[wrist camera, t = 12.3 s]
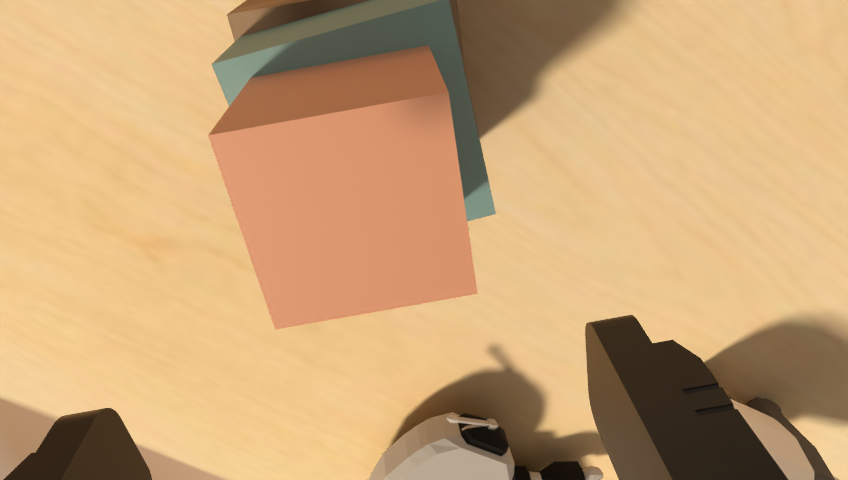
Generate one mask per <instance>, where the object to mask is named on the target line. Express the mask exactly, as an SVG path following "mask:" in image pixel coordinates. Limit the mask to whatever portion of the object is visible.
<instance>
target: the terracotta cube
mask: <svg viewBox="0 0 848 480" xmlns="http://www.w3.org/2000/svg"><path fill="white" fill-rule="evenodd" d="M208 136H209V139H210V142H211V145H212V148H213V150H214V153H215V156H216V159H217V162H218V165H219V168H220V171H221V174H222V176H223V179H224V182H225V185H226V188H227V191H228V194H229V197H230V200H231V203H232V205H233V208H234V211H235V214H236V217H237V220H238V223H239V226H240V229H241V231H242V234H243V237H244V240H245V243H246V246H247V249H248V252H249V255H250V258H251V260H252V263H253V266H254V269H255V272H256V275H257V278H258V281H259V284H260V286H261V289H262V292H263V295H264V298H265V301H266V304H267V307H268V310H269V313H270V315H271V318H272V321H273V324H274V327H275V329H281V328H286V327H292V326H298V325H303V324H309V323H314V322H320V321H326V320H331V319H337V318H343V317H348V316H354V315H360V314H365V313H371V312H376V311H382V310H388V309H393V308H399V307H405V306H410V305H416V304H422V303H427V302H433V301H439V300H444V299H450V298H455V297H461V296H467V295H472V294H477V287H476V280H475V273H474V267H473V260H472V253H471V246H470V239H469V232H468V225H467V218H466V211H465V204H464V197H463V190H462V183H461V176H460V169H459V162H458V155H457V148H456V141H455V134H454V127H453V120H452V113H451V106H450V99H449V92H448V90H447V87H446V85H445V83H444V80H443V78H442V75H441V73H440V71H439V68H438V66H437V64H436V61H435V59H434V57H433V54H432V52H431V50H430V47H429V45H427V46H422V47H416V48H411V49H405V50H400V51H394V52H389V53H383V54H378V55H372V56H367V57H361V58H355V59H350V60H344V61H339V62H333V63H328V64H322V65H317V66H311V67H306V68H300V69H295V70H289V71H284V72H278V73H273V74H267V75H262V76H256V77H251V78H250V79H249V81H248V82H247V83H246V85H245V86H244V87H243V89H242V90H241V92H240V93H239V94H238V96H237V97H236V98H235V100H234V101H233V102H232V104H231V105H230V107H229V108H228V109H227V111H226V112H225V113H224V115H223V116H222V117H221V119H220V120H219V122H218V123H217V124H216V126H215V127H214V128H213V130H212V131H211V132H210V134H209V135H208Z"/></svg>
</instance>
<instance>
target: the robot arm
mask: <svg viewBox="0 0 848 480" xmlns="http://www.w3.org/2000/svg"><path fill="white" fill-rule="evenodd" d="M585 336H586V354H587V373H588V391H589V399H590V405H591V409H592V413H593V417H594V420H595V424H596V426H597V429H598V432H599V434H600V436H601V439H602V441H603V443H604V446H605V448H606V450H607V453H608V455H609V457H610V460H611V462H612V464H613V467H614V469H615V471H616V474H617V476H618V478H619V480H788V478H787V477H786V475H785V474H784V473H783V471H782V470H781V469H780V467H779V466H778V464H777V463H776V462H775V460H774V459H773V458H772V456H771V455H770V453H769V452H768V451H767V449H766V448H765V447H764V445H763V444H762V442H761V441H760V440H759V438H758V437H757V436H756V434H755V433H754V431H753V430H752V429H751V427H750V426H749V424H748V423H747V422H746V420H745V419H744V418H743V416H742V415H741V413H740V412H739V411H738V409H735V408H734V406H733V402H732V401H731V400H730V398H729V397H728V396H727V394H726V393H725V391H724V390H723V389H722V388H720V387H719V385H718V382H717V380H716V379H715V378H714V376H713V375H712V374H711V372H710V371H709V369H708V368H707V367H706V365H705V364H704V363H703V361H702V360H701V358H699V357H698V356H696V355H695V354H693V353H692V352H690V351H689V350H687V349H686V348H684V347H683V346H681V345H680V344H678V343H676V342H675V341H673V340H669V341H664V342H658V343H652V342H651V341H650V339H649V338H648V336H647V334H646V333H645V331H644V330H643V328H642V327H641V325H640V324H639V322H638V320H637V319H636V318H635V317H634V316H633V315H628V316H622V317H617V318H611V319H606V320H600V321H595V322H589V323H587V324H586V329H585ZM4 480H152V478H151V474H150V470H149V468H148V467H147V464H146V463H145V461H144V459H143V457H142V456H141V454H140V452H139V450H138V448H137V447H136V445H135V443H134V441H133V439H132V438H131V436H130V434H129V432H128V430H127V429H126V427H125V425H124V423H123V421H122V420H121V418H120V416H119V415H118V413H117V412H116V411H114V410H113V409H111V408H104V409H99V410H93V411H88V412H82V413H76V414H71V415H65V416H62V417H60V418H59V419H58V420H57V421H56V422H55V423H54V425H53V426H52V428H51V429H50V431H49V432H48V434H47V436H46V437H45V439H44V440H43V442H42V444H41V445H40V447H39V448H38V450H37V451H36V453H31V454H30V455H29V456H28V457H27V458H26V459H25V460H24V461H22V462H21V463H20V464H19V465H18V466H17V467H16V468H15V469H14V470H13V471H12V472H11V473H10V474H9V475H8V476H7V477H6V478H5V479H4Z"/></svg>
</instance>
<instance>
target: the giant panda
mask: <svg viewBox="0 0 848 480" xmlns="http://www.w3.org/2000/svg"><path fill="white" fill-rule="evenodd" d="M730 400H731V401H732V402H733V406H734V408H735V409H738V411H739V412H740V413H741V415H742V416H743V418H744V419H745V420H746V422H747V423H748V424H749V426H750V427H751V429H752V430H753V431H754V433H755V434H756V436H757V437H758V438H759V440H760V441H761V442H762V444H763V445H764V447H765V448H766V449H767V451H768V452H769V453H770V455H771V456H772V458H773V459H774V460H775V462H776V463H777V464H778V466H779V467H780V469H781V470H782V471H783V473H784V474H785V475H786V477H787V478H788V480H839V479H838V478H836V477H834V476H833V475H832V474H831V472H830V470H829V469H828V467H827V466H826V464H825V462H824V461H823V459H822V457H821V456H820V454H819V452H818V451H817V449H816V448H815V447H814V446H813V445H812V444H811V443H810V442H809V441H808V440H807V439H806V438H805V437H804V436H803V435H802V434H801V433H800V432H799V431H798V430H797V429H796V428H795V427H794V426H793V425H792V424H791V423H790V422H789V421H788V420H787V419H786V418H785V417H784V416H783V414H782V413H781V409H780V407H779V406H777V405H776V404H775V403H773V402H771V401H769V400H766V399H761V398H755V399H754V400H752V401H751V402H749V403H748V405H747V406H746V405H743V404H741V403H739V402H737V401H734V400H732V399H730Z"/></svg>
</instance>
